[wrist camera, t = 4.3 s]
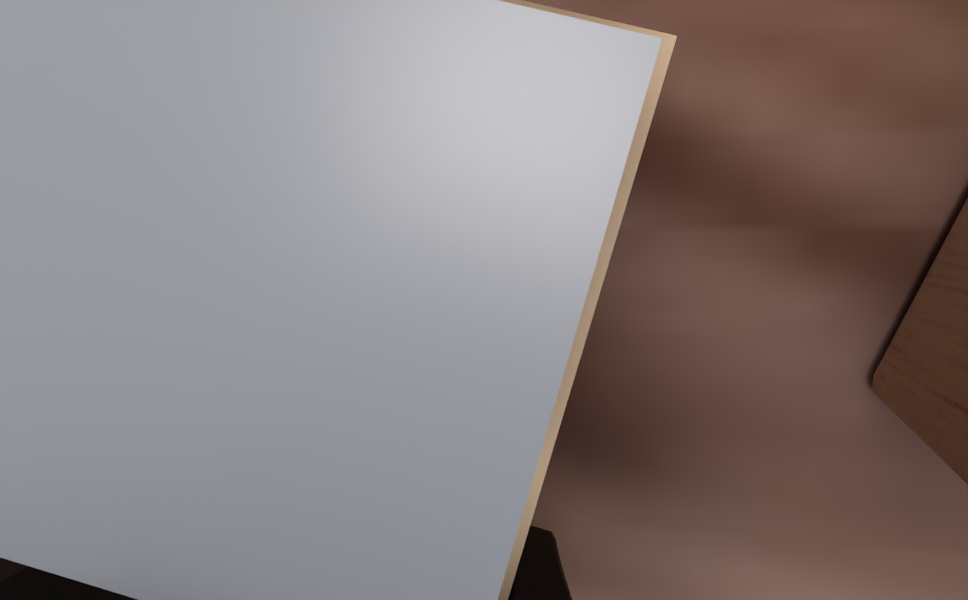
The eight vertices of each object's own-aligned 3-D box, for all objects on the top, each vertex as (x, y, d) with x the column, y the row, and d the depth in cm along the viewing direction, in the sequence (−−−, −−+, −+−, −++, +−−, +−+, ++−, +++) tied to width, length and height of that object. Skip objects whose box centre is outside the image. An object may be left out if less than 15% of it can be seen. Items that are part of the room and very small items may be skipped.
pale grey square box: (613, 76, 7) (661, 37, 3) (521, 413, 8) (468, 699, 4) (248, -10, 7) (-159, -151, 3) (216, 329, 8) (-102, 526, 4)
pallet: (640, 61, 10) (677, 35, 6) (432, 788, 16) (385, 1008, 12) (343, -8, 11) (209, -72, 7) (239, 727, 16) (132, 922, 12)
